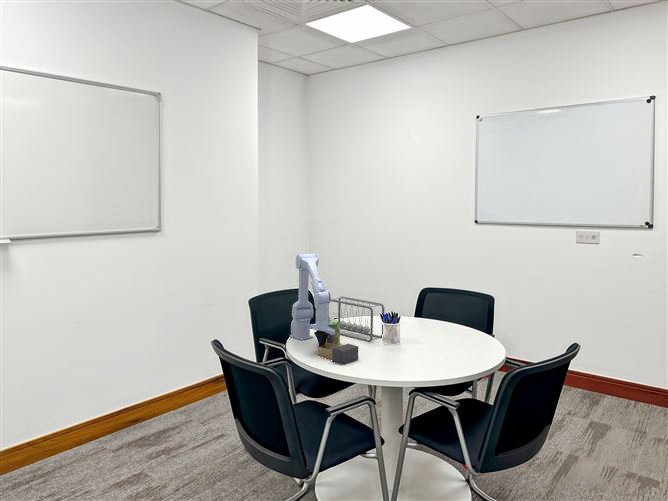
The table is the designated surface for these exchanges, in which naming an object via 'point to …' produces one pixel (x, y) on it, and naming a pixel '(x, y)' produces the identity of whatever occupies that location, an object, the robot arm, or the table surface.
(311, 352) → the table surface
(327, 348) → the brown open box
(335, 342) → the green multicoloured upright block
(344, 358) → the dark grey rectangular block
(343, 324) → the newton's cradle
